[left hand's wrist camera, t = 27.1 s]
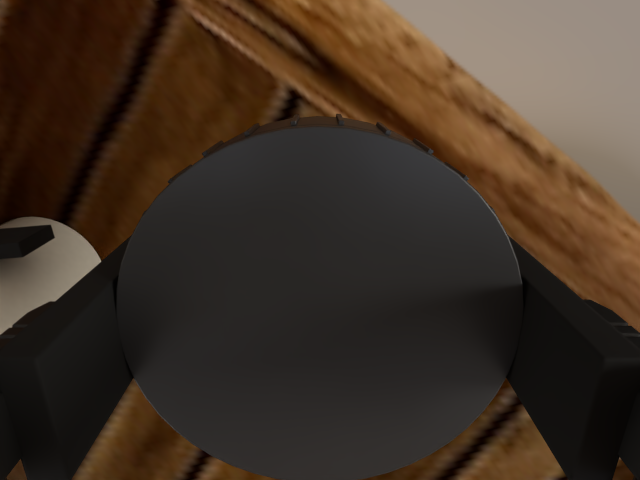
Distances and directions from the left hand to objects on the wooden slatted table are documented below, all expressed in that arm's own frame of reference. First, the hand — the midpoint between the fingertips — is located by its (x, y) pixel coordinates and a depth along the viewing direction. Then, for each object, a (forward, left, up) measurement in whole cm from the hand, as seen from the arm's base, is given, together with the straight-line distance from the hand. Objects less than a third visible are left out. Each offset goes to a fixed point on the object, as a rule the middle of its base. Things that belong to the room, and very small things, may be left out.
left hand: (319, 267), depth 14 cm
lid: (0, 0, +3) cm, 3 cm away
